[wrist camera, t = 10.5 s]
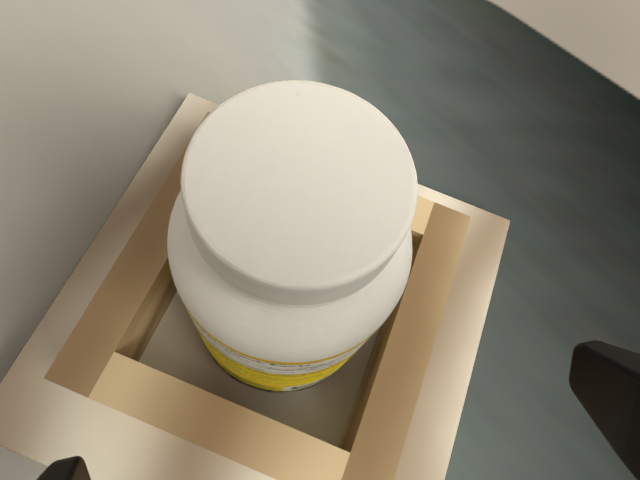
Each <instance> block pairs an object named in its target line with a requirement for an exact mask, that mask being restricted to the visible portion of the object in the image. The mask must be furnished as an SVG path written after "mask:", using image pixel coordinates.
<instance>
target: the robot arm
mask: <svg viewBox="0 0 640 480" xmlns="http://www.w3.org/2000/svg"><path fill="white" fill-rule="evenodd" d="M569 383H570V387H571V389H572V391H573V393H574V394H575V396H576V397H577V399H578V400H579V401H580V403H581V404H582V406H583V407H584V409H585V410H586V411H587V413H588V414H589V416H590V417H591V419H592V420H593V421H594V423H595V424H596V426H597V427H598V429H599V430H600V431H601V433H602V434H603V436H604V437H605V439H606V440H607V441H608V443H609V444H610V446H611V447H612V449H613V450H614V451H615V453H616V454H617V455H618V457H619V458H620V459H621V461H622V462H623V463H624V465H625V466H626V467H627V468H628V470H629V471H630V472H631V473H632V474H633V476H634V477H635V478H636V479H637V480H640V354H638V353H635V352H632V351H629V350H626V349H623V348H619V347H616V346H613V345H610V344H607V343H604V342H601V341H589V342H584V343H580V344H577V345H576V346H575V347H574V349H573V353H572V360H571V367H570V374H569ZM37 480H91V478H90V475H89V472H88V469H87V466H86V463H85V461H84V459H83V458H82V457H80V456H73V457H69V458H64V459H60V460H56V461H54V462H53V463H51V464H50V465H49V466H48V467H47V469H46V470H45V471H44V472H43V473H42V474H41V475H40V476H39V477H38V479H37Z"/></svg>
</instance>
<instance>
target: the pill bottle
mask: <svg viewBox="0 0 640 480" xmlns="http://www.w3.org/2000/svg"><path fill="white" fill-rule="evenodd" d="M180 183H181V191H180V193H179V194H178V196H177V198H176V201H175V204H174V207H173V210H172V213H171V217H170V221H169V227H168V237H167V250H168V260H169V265H170V270H171V274H172V278H173V281H174V284H175V286H176V289H177V291H178V294H179V296H180V298H181V300H182V302H183V304H184V306H185V308H186V309H187V311H188V313H189V315H190V317H191V319H192V321H193V323H194V325H195V327H196V329H197V330H198V332H199V334H200V336H201V338H202V340H203V342H204V344H205V346H206V347H207V349H208V351H209V352H210V354H211V356H212V357H213V359H214V360H215V361H216V362H217V364H218V365H219V366H220V367H221V368H222V369H223V370H224V371H225V372H226V373H227V374H229V375H230V376H231V377H232V378H234V379H235V380H237V381H238V382H240V383H242V384H244V385H246V386H248V387H250V388H253V389H256V390H259V391H263V392H269V393H291V392H297V391H301V390H305V389H307V388H310V387H312V386H315V385H317V384H318V383H320V382H322V381H324V380H325V379H326V378H328V377H329V376H331V375H332V374H334V373H335V372H336V371H337V370H338V369H339V368H340V367H341V366H342V365H343V364H345V363H346V361H347V360H348V359H349V358H350V357H351V356H352V355H353V354H354V353H355V352H356V351H357V350H358V349H359V348H360V347H361V346H362V345H363V344H364V343H365V342H366V341H367V340H368V339H369V338H370V337H371V336H372V335H373V334H374V333H375V332H376V331H377V330H378V329H379V328H380V326H381V325H382V324H383V323H384V322H385V320H386V319H387V318H388V317H389V315H390V314H391V312H392V311H393V309H394V308H395V306H396V304H397V303H398V301H399V299H400V297H401V296H402V294H403V291H404V289H405V287H406V284H407V281H408V277H409V273H410V269H411V262H412V233H411V227H410V226H411V224H412V221H413V218H414V214H415V210H416V205H417V195H418V183H417V175H416V170H415V166H414V162H413V159H412V156H411V153H410V151H409V149H408V147H407V145H406V143H405V141H404V139H403V138H402V136H401V134H400V133H399V132H398V130H397V129H396V128H395V126H394V125H393V124H392V123H391V122H390V120H389V119H388V118H387V117H386V116H384V115H383V114H382V113H381V112H380V111H379V110H378V109H377V108H375V107H374V106H373V105H371V104H370V103H368V102H367V101H365V100H363V99H362V98H360V97H358V96H356V95H355V94H353V93H351V92H348V91H346V90H343V89H341V88H338V87H335V86H331V85H328V84H324V83H319V82H313V81H305V80H286V81H276V82H270V83H265V84H261V85H258V86H255V87H252V88H249V89H247V90H244V91H242V92H240V93H238V94H236V95H234V96H232V97H231V98H229V99H228V100H226V101H224V102H223V103H222V104H220V105H219V106H218V107H216V108H215V109H214V110H213V111H212V112H211V113H210V114H209V115H208V116H207V117H206V118H205V119H204V120H203V122H202V123H201V124H200V125H199V127H198V128H197V130H196V131H195V133H194V134H193V136H192V138H191V140H190V142H189V144H188V147H187V149H186V152H185V155H184V159H183V163H182V170H181V180H180Z"/></svg>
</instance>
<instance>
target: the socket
mask: <svg viewBox="0 0 640 480" xmlns="http://www.w3.org/2000/svg"><path fill="white" fill-rule="evenodd" d="M218 106H219V104H216V103H214V102H211V101H209V100H206V99H204V98H201V97H199V96H196V95H194V94H191V93H189V94H188V95H187V97H186V99H185V100H184V102H183V103H182V105H181V106H180V108H179V109H178V111H177V112H176V114H175V115H174V117H173V119H172V120H171V122H170V123H169V125H168V126H167V128H166V129H165V131H164V132H163V134H162V135H161V137H160V139H159V140H158V142H157V143H156V145H155V146H154V148H153V149H152V151H151V152H150V154H149V155H148V157H147V159H146V160H145V162H144V163H143V165H142V166H141V168H140V169H139V171H138V172H137V174H136V175H135V177H134V179H133V180H132V182H131V183H130V185H129V186H128V188H127V189H126V191H125V192H124V194H123V195H122V197H121V199H120V200H119V202H118V203H117V205H116V206H115V208H114V209H113V211H112V212H111V214H110V215H109V217H108V219H107V220H106V222H105V223H104V225H103V226H102V228H101V229H100V231H99V232H98V234H97V235H96V237H95V239H94V240H93V242H92V243H91V245H90V246H89V248H88V249H87V251H86V252H85V254H84V255H83V257H82V259H81V260H80V262H79V263H78V265H77V266H76V268H75V269H74V271H73V272H72V274H71V275H70V277H69V279H68V280H67V282H66V283H65V285H64V286H63V288H62V289H61V291H60V292H59V294H58V295H57V297H56V299H55V300H54V302H53V303H52V305H51V306H50V308H49V309H48V311H47V312H46V314H45V315H44V317H43V319H42V320H41V322H40V323H39V325H38V326H37V328H36V329H35V331H34V332H33V334H32V335H31V337H30V339H29V340H28V342H27V343H26V345H25V346H24V348H23V349H22V351H21V352H20V354H19V355H18V357H17V358H16V360H15V362H14V363H13V365H12V366H11V368H10V369H9V371H8V372H7V374H6V375H5V377H4V378H3V380H2V382H1V383H0V445H1V446H3V447H5V448H7V449H10V450H12V451H14V452H16V453H19V454H21V455H23V456H25V457H28V458H30V459H32V460H34V461H37V462H39V463H41V464H43V465H46V466H49V465H50V464H51V463H53V462H54V461H56V460H60V459H64V458H69V457H73V456H80V457H82V458H83V459H84V461H85V463H86V466H87V469H88V472H89V475H90V478H91V480H444V479H445V475H446V471H447V467H448V464H449V460H450V456H451V452H452V448H453V444H454V440H455V436H456V432H457V428H458V424H459V420H460V416H461V412H462V408H463V404H464V401H465V397H466V393H467V389H468V385H469V381H470V377H471V373H472V369H473V365H474V361H475V357H476V353H477V349H478V345H479V342H480V338H481V334H482V330H483V326H484V322H485V318H486V314H487V310H488V306H489V302H490V298H491V294H492V290H493V286H494V283H495V279H496V275H497V271H498V267H499V263H500V259H501V255H502V251H503V247H504V243H505V239H506V235H507V231H508V227H509V224H510V220H507V219H505V218H502V217H500V216H497V215H495V214H492V213H490V212H487V211H485V210H482V209H480V208H477V207H475V206H472V205H470V204H467V203H465V202H462V201H460V200H457V199H455V198H452V197H450V196H447V195H445V194H442V193H440V192H437V191H434V190H432V189H429V188H427V187H424V186H422V185H419V184H418V195H417V205H416V210H415V214H414V218H413V221H412V224H411V226H410V227H411V233H412V262H411V269H410V273H409V277H408V281H407V284H406V287H405V289H404V291H403V294H402V296H401V297H400V299H399V301H398V303H397V304H396V306H395V308H394V309H393V311H392V312H391V314H390V315H389V317H388V318H387V319H386V320H385V322H384V323H383V324H382V325H381V326H380V328H379V329H378V330H377V331H376V332H375V333H374V334H373V335H372V336H371V337H370V338H369V339H368V340H367V341H366V342H365V343H364V344H363V345H362V346H361V347H360V348H359V349H358V350H357V351H356V352H355V353H354V354H353V355H352V356H351V357H350V358H349V359H348V360H347V361H346V363H345V364H343V365H342V366H341V367H340V368H339V369H338V370H337V371H336V372H335V373H334V374H332V375H331V376H329V377H328V378H326V379H325V380H324V381H322V382H320V383H318V384H317V385H315V386H312V387H310V388H307V389H305V390H301V391H297V392H291V393H269V392H263V391H259V390H256V389H253V388H250V387H248V386H246V385H244V384H242V383H240V382H238V381H237V380H235V379H234V378H232V377H231V376H230V375H229V374H227V373H226V372H225V371H224V370H223V369H222V368H221V367H220V366H219V365H218V364H217V362H216V361H215V360H214V359H213V357H212V356H211V354H210V352H209V351H208V349H207V347H206V346H205V344H204V342H203V340H202V338H201V336H200V334H199V332H198V330H197V329H196V327H195V325H194V323H193V321H192V319H191V317H190V315H189V313H188V311H187V309H186V308H185V306H184V304H183V302H182V300H181V298H180V296H179V294H178V291H177V289H176V286H175V284H174V281H173V278H172V274H171V270H170V265H169V260H168V250H167V237H168V227H169V221H170V217H171V213H172V210H173V207H174V204H175V201H176V198H177V196H178V194H179V193H180V191H181V183H180V180H181V170H182V163H183V159H184V155H185V152H186V149H187V147H188V144H189V142H190V140H191V138H192V136H193V134H194V133H195V131H196V130H197V128H198V127H199V125H200V124H201V123H202V122H203V120H204V119H205V118H206V117H207V116H208V115H209V114H210V113H211V112H212V111H213V110H214V109H215V108H216V107H218Z"/></svg>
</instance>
